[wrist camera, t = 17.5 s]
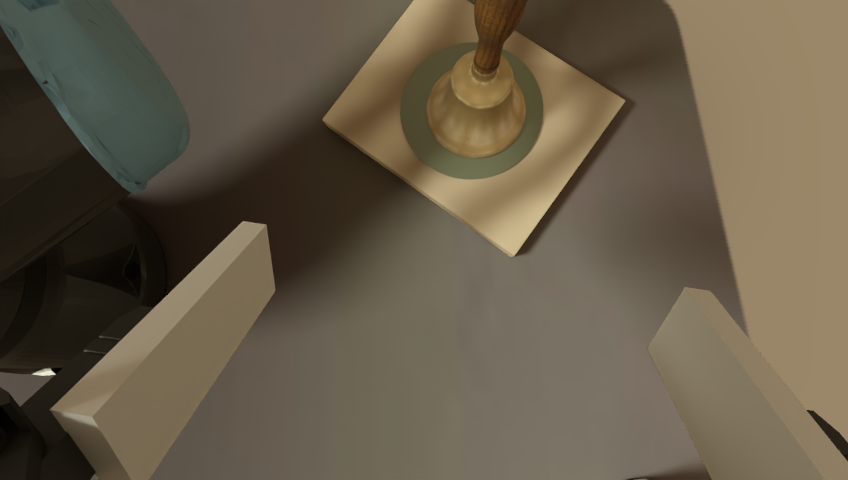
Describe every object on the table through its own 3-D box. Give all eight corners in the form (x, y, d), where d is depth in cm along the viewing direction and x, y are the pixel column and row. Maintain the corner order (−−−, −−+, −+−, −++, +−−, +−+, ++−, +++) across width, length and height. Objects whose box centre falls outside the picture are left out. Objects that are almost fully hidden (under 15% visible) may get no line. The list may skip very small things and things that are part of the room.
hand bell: (517, 57, 33) (586, -155, 17) (532, 151, 32) (621, 20, 16) (420, 72, 33) (398, -123, 17) (433, 165, 32) (422, 50, 16)
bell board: (327, 126, 35) (321, 118, 33) (431, -10, 36) (431, -25, 34) (511, 257, 33) (514, 255, 31) (617, 108, 33) (626, 99, 32)
